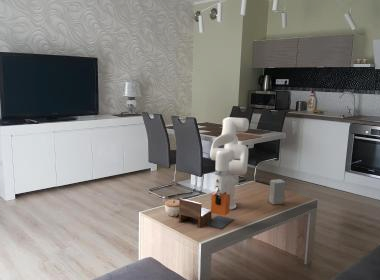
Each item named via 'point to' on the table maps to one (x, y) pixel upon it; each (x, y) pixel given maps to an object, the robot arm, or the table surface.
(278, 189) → the cosmetic box
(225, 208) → the block
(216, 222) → the mat
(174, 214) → the trinket box
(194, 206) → the wooden toy chair
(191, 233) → the table surface
